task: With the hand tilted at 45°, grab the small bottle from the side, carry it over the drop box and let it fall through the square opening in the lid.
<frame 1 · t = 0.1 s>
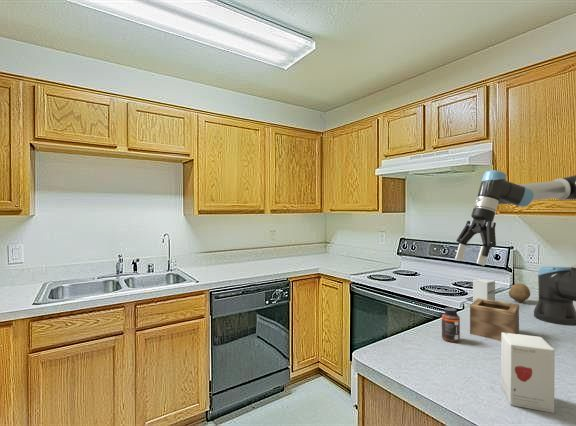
hand: (468, 262, 124), 28 cm above the counter, tool tilted 20°, fingers open, 13 cm apart
drop box: (494, 333, 125), on the counter
supplement box: (483, 305, 163), on the counter
supplement bottle: (450, 340, 119), on the counter
natural sponge: (519, 302, 168), on the counter
supplement box 2: (526, 400, 80), on the counter
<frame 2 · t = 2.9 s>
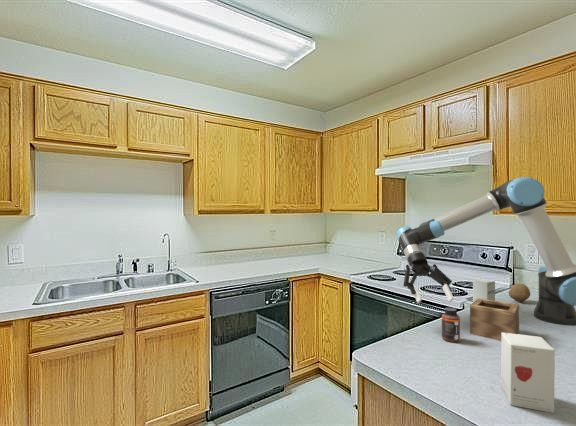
hand: (435, 300, 127), 12 cm above the counter, tool tilted 45°, fingers open, 13 cm apart
nothing on the counter moved.
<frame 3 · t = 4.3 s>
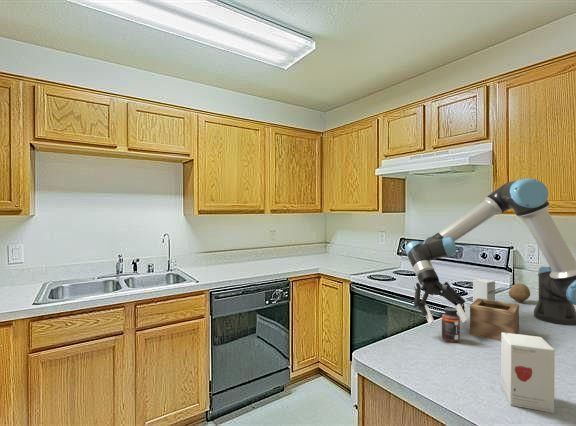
hand: (448, 322, 119), 6 cm above the counter, tool tilted 45°, fingers open, 13 cm apart
nothing on the counter moved.
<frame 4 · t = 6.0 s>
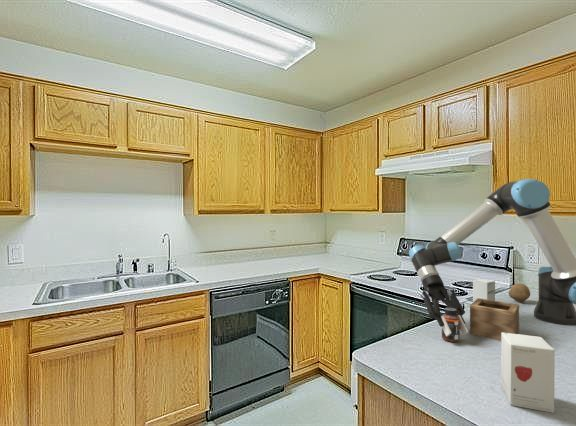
hand: (457, 334, 115), 3 cm above the counter, tool tilted 45°, fingers closed on supplement bottle, 6 cm apart
supplement bottle: (450, 340, 119), on the counter, touching gripper
everything else where it was.
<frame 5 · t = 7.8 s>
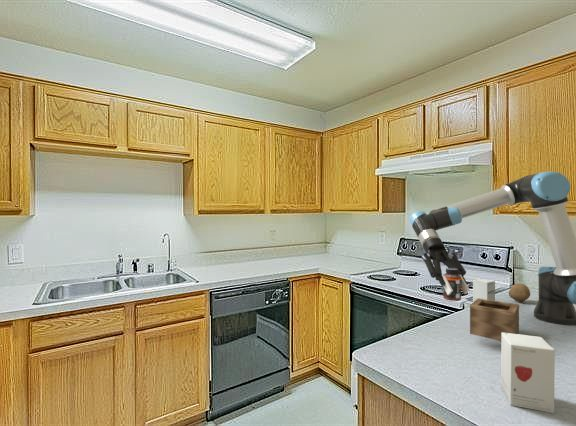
hand: (458, 292, 115), 18 cm above the counter, tool tilted 45°, fingers closed on supplement bottle, 6 cm apart
supplement bottle: (452, 299, 119), point 15 cm above the counter, touching gripper
everything else where it was.
when the fingers open (16 cm above the counter, at t = 9.8 s): supplement bottle drops 11 cm, resting on drop box.
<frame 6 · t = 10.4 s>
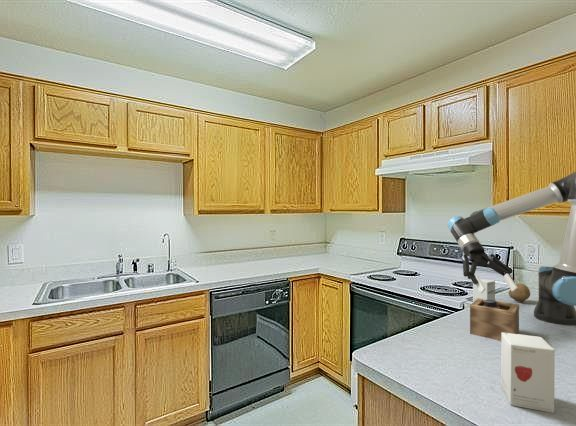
hand: (499, 290, 123), 17 cm above the counter, tool tilted 45°, fingers open, 13 cm apart
supplement bottle: (494, 330, 125), point 1 cm above the counter, touching drop box
everything else where it was.
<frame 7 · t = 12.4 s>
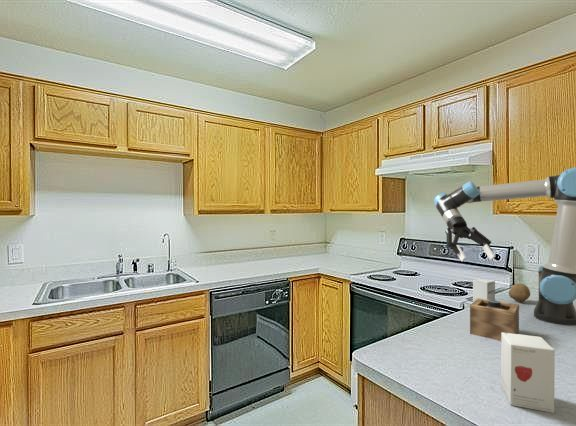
hand: (478, 259, 135), 27 cm above the counter, tool tilted 45°, fingers open, 13 cm apart
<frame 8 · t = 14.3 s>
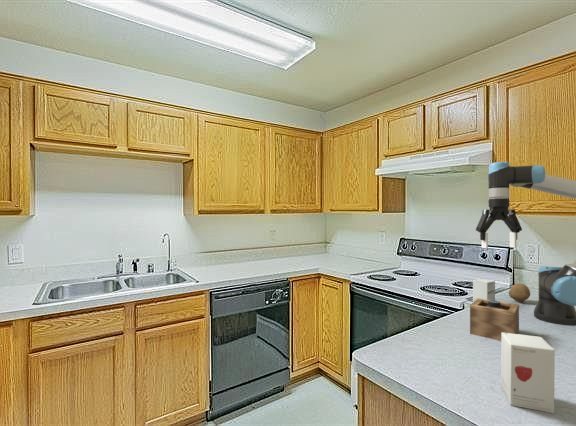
hand: (498, 247, 138), 32 cm above the counter, tool pointing down, fingers open, 13 cm apart
nothing on the counter moved.
at the end: supplement bottle inside the target area on the drop box (0.1 cm from its centre), point 0.8 cm above the drop box's base; the gripper is holding nothing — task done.
